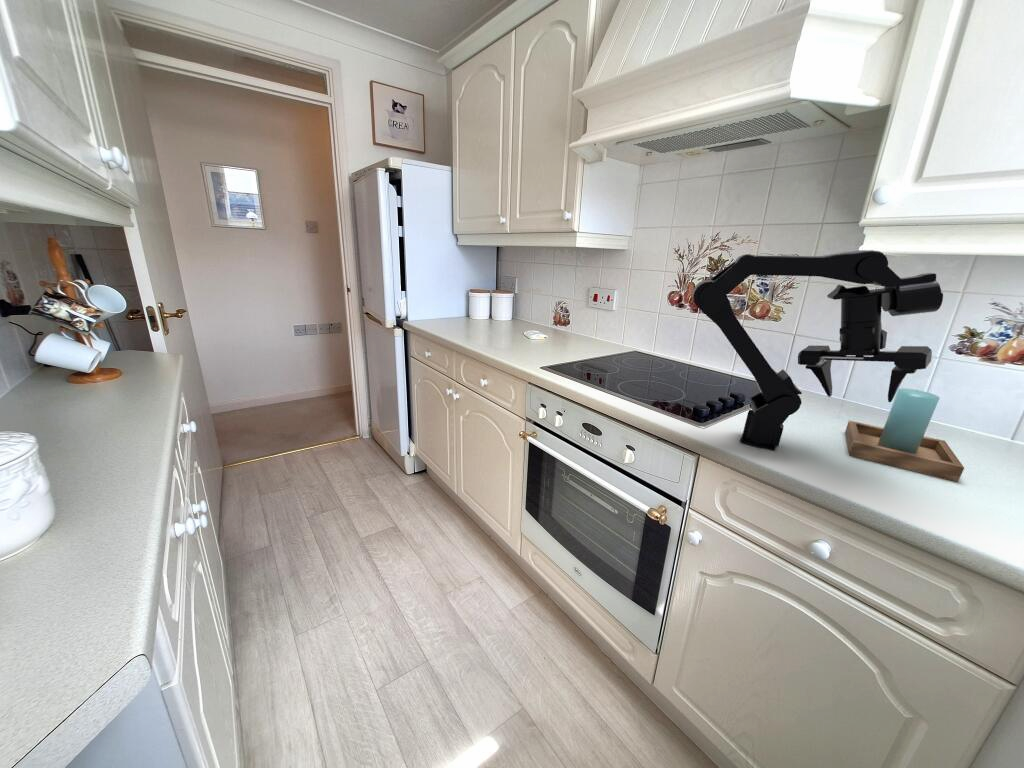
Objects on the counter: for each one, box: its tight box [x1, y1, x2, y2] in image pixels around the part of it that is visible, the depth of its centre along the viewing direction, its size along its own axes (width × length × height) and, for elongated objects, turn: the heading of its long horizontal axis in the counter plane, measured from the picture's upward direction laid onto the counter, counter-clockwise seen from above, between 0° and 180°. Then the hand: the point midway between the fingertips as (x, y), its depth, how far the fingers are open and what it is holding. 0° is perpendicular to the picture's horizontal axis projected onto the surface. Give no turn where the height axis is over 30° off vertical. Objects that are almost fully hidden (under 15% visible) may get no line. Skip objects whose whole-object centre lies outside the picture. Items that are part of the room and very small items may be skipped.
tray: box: [844, 420, 965, 483], centre depth 85 cm, size 16×14×3 cm
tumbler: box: [878, 388, 940, 454], centre depth 83 cm, size 6×6×12 cm
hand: (858, 398), depth 80 cm, fingers open, 9 cm apart
